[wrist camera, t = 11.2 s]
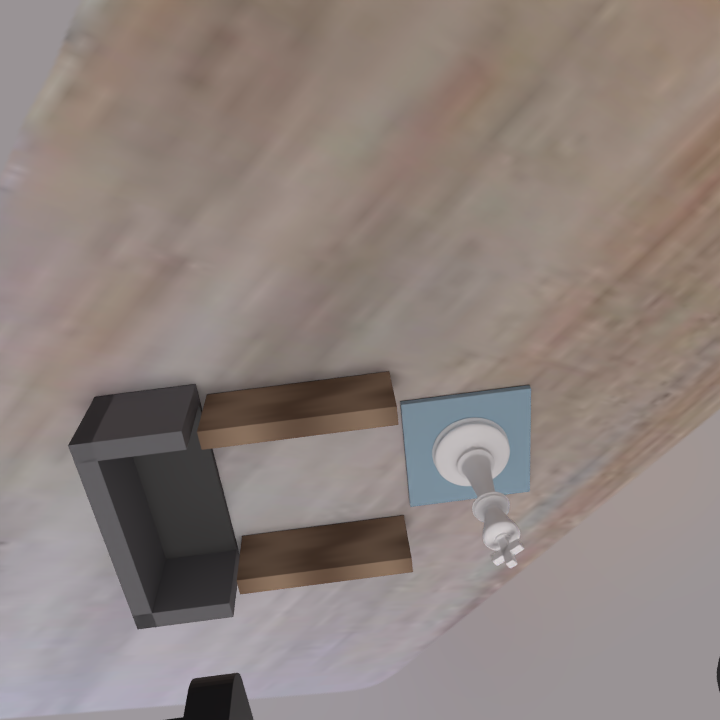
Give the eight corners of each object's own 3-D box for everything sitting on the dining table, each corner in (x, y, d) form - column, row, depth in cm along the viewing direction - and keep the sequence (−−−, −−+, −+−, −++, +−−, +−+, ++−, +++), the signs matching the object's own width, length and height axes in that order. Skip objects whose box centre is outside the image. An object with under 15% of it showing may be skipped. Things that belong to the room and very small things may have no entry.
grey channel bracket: (195, 384, 40) (181, 431, 36) (240, 558, 47) (233, 616, 42) (94, 396, 40) (68, 445, 36) (153, 570, 47) (137, 629, 42)
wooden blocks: (389, 371, 41) (396, 406, 37) (404, 528, 46) (412, 571, 43) (206, 394, 40) (197, 431, 37) (245, 549, 46) (240, 594, 43)
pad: (529, 385, 42) (530, 388, 41) (528, 487, 45) (529, 491, 45) (400, 401, 42) (401, 404, 41) (409, 502, 45) (410, 506, 45)
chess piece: (523, 452, 43) (577, 565, 35) (461, 493, 45) (498, 613, 36) (480, 402, 42) (526, 510, 33) (416, 447, 43) (444, 562, 34)
